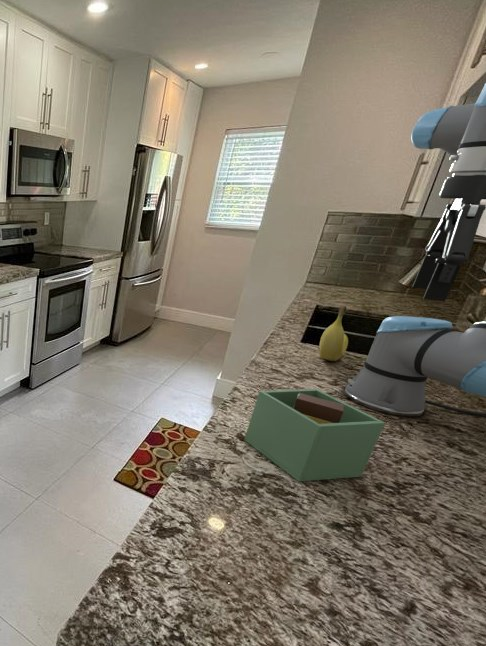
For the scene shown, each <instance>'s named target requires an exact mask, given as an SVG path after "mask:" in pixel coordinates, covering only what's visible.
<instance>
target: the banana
mask: <svg viewBox="0 0 486 646" xmlns="http://www.w3.org/2000/svg"><path fill="white" fill-rule="evenodd" d="M346 311H347V306H346V305H341V306H340V307H339V310H338V313H337V314H338V315H337V317H336V319H335V321H334V322H332V324H330V325H329V326H328V327H326V328H325V330H324V331H323V333H322V335H321V337H320V341H319V347H318V349H319V356H320V358H322V359H323V360H326V361H332V362H334V361H338V360H339V359H340V358H342V356H344V354H345V353H346V351H347V348H348V345H349V337H348V336H347V334H346V333H345V331H344V327H343V325H342V320H343V316H344V314H346Z"/></svg>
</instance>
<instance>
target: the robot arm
mask: <svg viewBox="0 0 486 646" xmlns="http://www.w3.org/2000/svg"><path fill="white" fill-rule="evenodd" d="M410 136H411V143H412V145H413V146H414V147H415V148H416V149H420V150H435V149H439V150H442V151H443V152H445V153H447V154H449V159H448V160H449V161H451V162H452V161H453V162H452V164H451V165H450V168H449V170H448V172H449V173H450V174H452V175H451V176H447V178H445V179H444V182H443V184H442V186H441V190H440V192H439V193H438V194H439V195H438V197H439V198H440V199H451V200H452V199H453V200H454V202H452V203H447V205H446V206H445V210H444V212H443V213H442V216H441V218H440V221H439V222H438V224H437V226H436V228H435V230H434V232H433V234H432V236H431V238H430V240H429V241H428V243H427V245H426V246H425V255H424V258H423V260H422V262H421V264H420V267H419V270H418V272H417V275H416V276H415V280H414V282H413V284H412V287H411V288H415V289H422V290H425V292H424V295H423V297H422V299H423V300H427V301H429V300H430V301H436V302H437V301H438V302H446V300H447V298H448V295H449V293H450V291H451V289H452V287H453V285H454V282H455V280H456V278H457V276H458V273H459V271H460V269H461V267H462V265H463V264H464V263H467V262H468V261H469V259H470V253H471V250H472V248H473V244H474V241H475V238H476V236H477V235H476V234H477V232H478V228H479V226H480V221H481V218H482V216H483V214H484V211H485V210H486V204H481V202H482V200H486V83H484V86H483V88H482V90H481V91H480V93H479V96H478V98H477V99H476V101H475V102H473V103H465V104H459V105H448V106H445V107H441V108H437V109H433V110H429V111H428V112H427V111H426V113H425V114H423V115H421V116H420V117H419V119H418V120H417V121H416V123H415V125H414V127H413V128H412V132H411V135H410ZM452 329H453V322H451V321H448V320H446V319H445V320H444V319H440V318H439V319H438V318H433V317H423V316H407V315H394V316H389V317H386V318H384V319H383V320H382V322H381V323H380V326H379V328H378V329H377V330H376V334H375V337H374V340H373V342H372V344H371V347H370V349H369V351H368V355H367V358H366V360H365V363H364V364H363V367H362V369H361V370H360V371H359V372H358V373H357V374H356V375H355V376H354V377H353V378H352V379H351V378H347V385H346V386H345V388H344V390H343V394H344V396H345V397H346V398H347V399H349V400H350V401H352V402H353V403H356V404H359V405H360V406H363V407H365V408H369V409H371V410H375V411H377V412H380V413H384V414H389V415H393V416H399V417H407V418H408V417H411V418H412V417H413V418H414V417H419V416H422V415H423V413H424V411H425V410H426V409H425V408H426V405H431V406H434V407H439V408H441V409H446V410H449V411H453V412H457V413H462V414H469V415H475V416H481V417H486V412H482V411H474V410H468V409H462V408H457V407H453V406H450V405H446V404H442V403H439V402H435V401H431V400H427V399H426V382H427V380H428V379H430V380H433V381H436V382H440V383H442V384H444V385H448V386H450V387H452V388H456V389H458V390H461V391H464V392H465V393H468V394H471V395H477V396H479V397H483V398H486V321H477V322H474V323H473V324H471V325H470V327H468V328H467V329H466V330H465V331H464V332H461V331H456V330H452Z"/></svg>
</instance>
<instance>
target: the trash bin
mask: <svg viewBox="0 0 486 646" xmlns="http://www.w3.org/2000/svg"><path fill="white" fill-rule="evenodd" d="M299 393H302V394H306V395H310V396H313V397H317V398H321V399H324V400H328V401H332V402H336V403H339V404H343V405H344V412H343V414H342V417H341V419H340V422H339V423H328V424H319V423H317V422H315V421H314V420H312V419H310V418H308V417H307V416H305V415H303V414H301V413H300V412H298V411H296V410H295V409H293V407H294V405H295V403H296V400H297V397H298V394H299ZM385 424H386V422H384V421H382V420H380V419H378V418H376V417H374V416H372V415H370V414H368V413H366V412H364V411H362V410H360V409H358V408H357V407H355V406H352V405H350V404H348V403H346V402H345V401H343V400H340V399H338V398H336V397H334V396H332V395H330V394H328V393H326V392H325V391H322V390H320V389H318V388H306V389H305V388H303V389H277V390H259V392H258V394H257V398H256V400H255V404H254V407H253V410H252V413H251V417H250V421H249V424H248V427H247V429H246V430H247V431H246V433H245V435H244V436H245V437H244V439H243V440H244V441H245V442H246V443H247V444H249V445H250V446H251V447H253V448H254V449H256V450H257V451H258V452H259V453H261V455H263V456H264V457H266V458H267V459H269V460H270V461H271V462H272V463H274V465H276V466H278V467H279V468H280V469H282V470H283V471H284V472H285V473H287V474H288V475H289V476H291V477H292V478H293V479H294V480H296V481H297V482H310V481H323V480H333V479H335V480H337V479H349V478H360V477H362V475H363V473H364V471H365V469H366V467H367V465H368V462H369V460H370V458H371V456H372V453H373V451H374V449H375V446H376V445H377V443H378V440H379V437H380V436H381V433H382V431H383V429H384V427H385Z"/></svg>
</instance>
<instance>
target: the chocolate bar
mask: <svg viewBox="0 0 486 646" xmlns="http://www.w3.org/2000/svg"><path fill="white" fill-rule="evenodd" d="M293 409H295V410H296V411H298V412H300V413H301V414H303V415H305V416H307V417H308V418H310V419H312V420H314V421H315V422H317V423H319V424H328V423H339V422H340V419H341V417H342V414H343V412H344V405H343V404H339V403H336V402H332V401H328V400H324V399H321V398H317V397H313V396H310V395H306V394H302V393H299V394H298V397H297V400H296V403H295V405H294V407H293Z"/></svg>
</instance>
